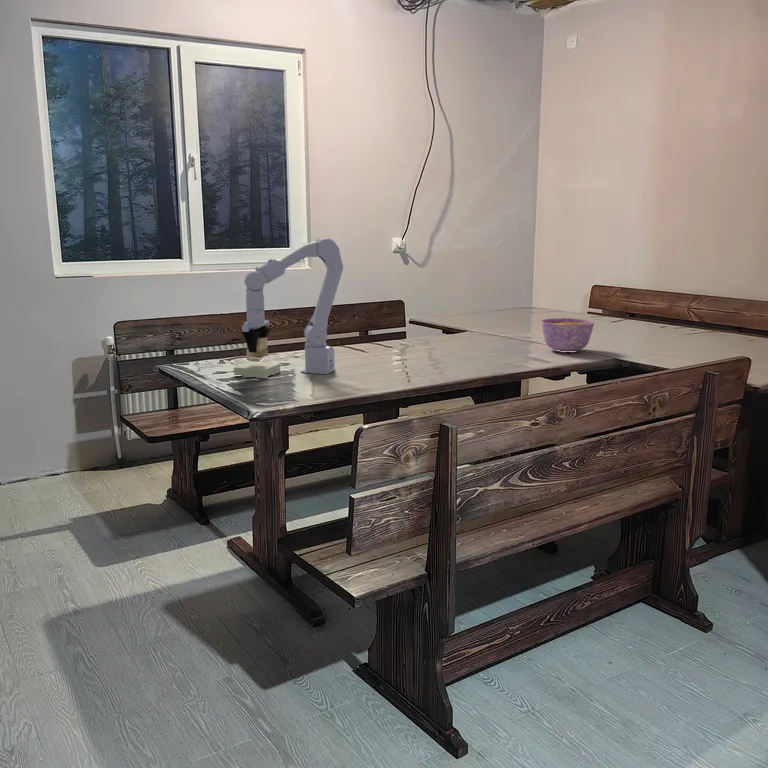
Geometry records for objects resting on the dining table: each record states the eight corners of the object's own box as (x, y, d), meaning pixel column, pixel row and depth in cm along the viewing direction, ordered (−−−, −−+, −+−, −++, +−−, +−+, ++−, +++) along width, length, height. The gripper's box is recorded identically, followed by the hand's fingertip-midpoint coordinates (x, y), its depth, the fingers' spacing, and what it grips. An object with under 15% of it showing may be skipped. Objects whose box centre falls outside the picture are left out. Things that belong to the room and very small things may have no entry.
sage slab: (280, 372, 256) (280, 363, 255) (264, 378, 246) (264, 369, 245) (251, 370, 260) (250, 361, 259) (234, 376, 250) (234, 367, 249)
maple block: (267, 355, 253) (267, 337, 252) (260, 358, 248) (259, 339, 247) (254, 354, 255) (253, 336, 253) (246, 357, 250) (246, 338, 249)
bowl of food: (588, 347, 305) (589, 318, 303) (596, 356, 286) (598, 325, 284) (537, 346, 307) (538, 317, 305) (542, 355, 288) (543, 324, 285)
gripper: (255, 306, 256) (256, 346, 259) (232, 311, 243) (234, 353, 246) (274, 307, 254) (275, 347, 257) (252, 312, 240) (254, 355, 243)
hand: (256, 350), depth 251 cm, fingers closed on maple block, 5 cm apart
